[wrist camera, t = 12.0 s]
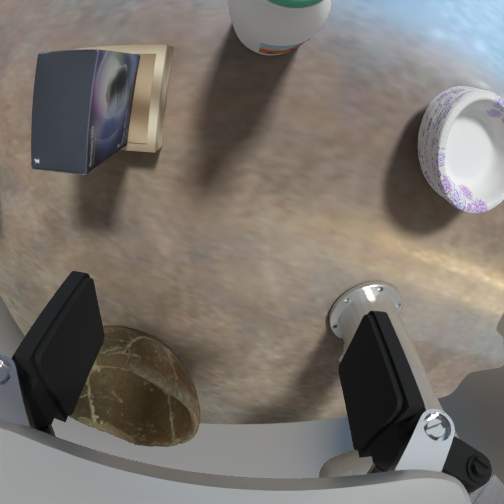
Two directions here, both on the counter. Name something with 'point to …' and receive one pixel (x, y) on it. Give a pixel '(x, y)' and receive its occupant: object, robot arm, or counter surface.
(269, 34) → the milk bottle
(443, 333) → the counter surface
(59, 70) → the small box
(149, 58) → the base
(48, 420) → the robot arm
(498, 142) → the paper bowls
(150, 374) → the bowl
